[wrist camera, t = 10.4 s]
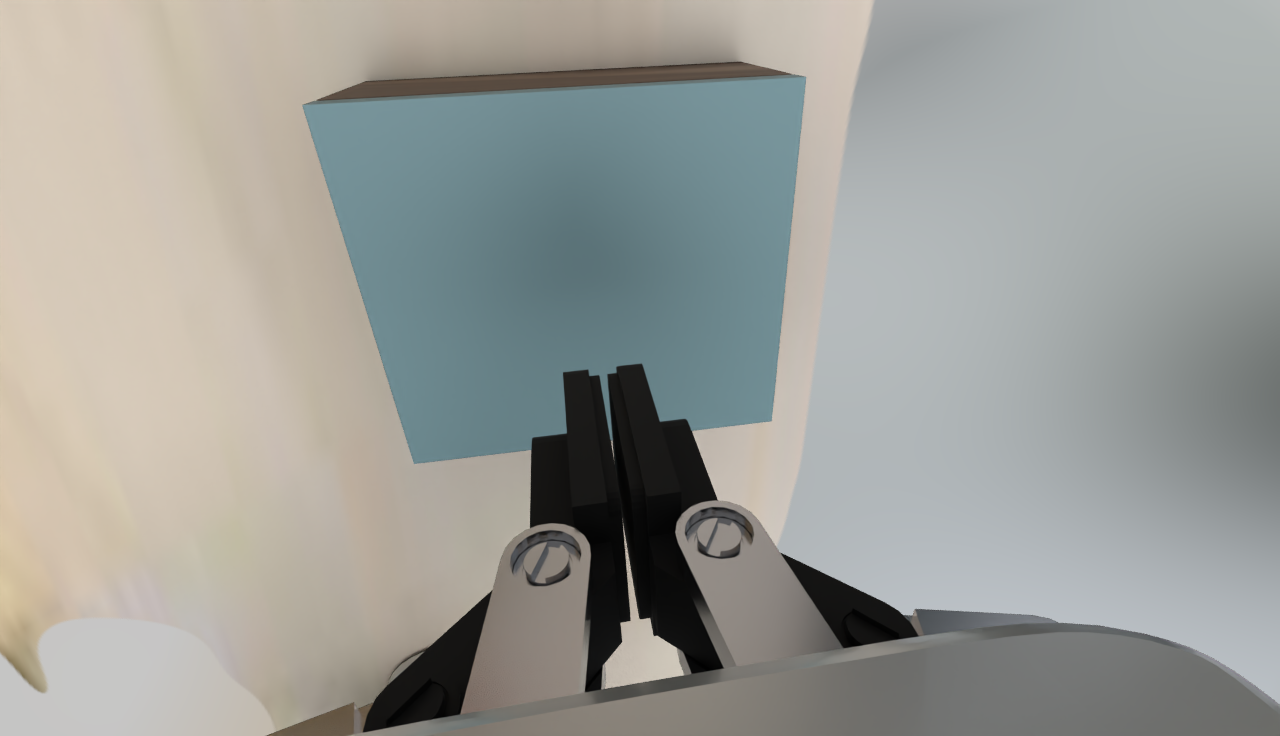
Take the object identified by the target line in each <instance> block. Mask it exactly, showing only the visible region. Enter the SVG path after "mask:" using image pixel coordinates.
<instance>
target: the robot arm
mask: <svg viewBox="0 0 1280 736" xmlns="http://www.w3.org/2000/svg"><path fill="white" fill-rule="evenodd" d="M607 379H608V391H609V403H610V415H611V427H612V438H613V450H614V458H613V452H612V446H611V440H610V434H609V428H608V423H607V417H606V411H605V405H604V399H603V393H602V388H601V382H600V376H599V375H594V376H589V370H588V369H587V370H578V371H570V372H563V383H564V397H565V412H566V427H567V433H565V434H557V435H549V436H541V437H533V438H532V451H531V503H530V529H527V530H525V531H523V532H522V533H521V534H519V535H518V536H516V537H515V538H514V539H513V540H512V541H511V542H510V543H509V544H508V545H507V547H506V548H505V550H504V552H503V555H502V557H501V560H500V563H499V567H498V571H497V575H496V579H495V583H494V586H493V590H492V591H491V592H490V593H489V594H488V595H486V596H485V597H484V598H483V599H482V600H481V601H480V602H479V603H478V604H476V605H475V606H474V607H473V608H472V609H471V610H470V611H469V612H468V613H467V614H465V615H464V616H463V617H462V618H461V619H460V620H459V621H458V622H457V623H456V624H454V625H453V626H452V627H451V628H450V629H449V630H448V631H447V632H446V633H444V634H443V635H442V636H441V637H440V638H439V639H438V640H437V641H436V642H435V643H433V644H432V645H431V646H430V647H429V648H428V649H427V650H426V651H424V652H422V653H420V654H417V655H415V656H413V657H411V658H410V659H408V660H407V661H405V662H404V663H402V664H401V665H400V666H399V667H398V668H397V669H396V670H395V671H394V672H393V674H392V676H391V677H390V679H389V682H388V685H387V687H386V688H385V689H384V690H383V691H382V692H381V693H380V694H379V696H378V697H377V698H376V699H375V701H374V703H371V704H369V705H366V706H364V707H361V708H357V706H356V704H355V703H351V704H348V705H346V706H343V707H340V708H338V709H335V710H332V711H330V712H327V713H325V714H322V715H319V716H317V717H314V718H311V719H309V720H306V721H303V722H301V723H298V724H296V725H293V726H290V727H288V728H285V729H282V730H280V731H277V732H274V733H272V734H269V735H267V736H1280V704H1278V703H1277V702H1275V700H1273V699H1272V698H1271V697H1269V696H1268V695H1267V694H1265V693H1264V692H1263V691H1261V690H1260V689H1259V688H1257V687H1256V686H1255V685H1253V684H1252V683H1251V682H1249V681H1248V680H1246V679H1245V678H1243V677H1242V676H1241V675H1239V674H1238V673H1236V672H1235V671H1233V670H1232V669H1230V668H1229V667H1226V666H1225V665H1223V664H1222V663H1220V662H1219V661H1217V660H1215V659H1214V658H1212V657H1210V656H1208V655H1205V654H1203V653H1201V652H1199V651H1197V650H1195V649H1192V648H1190V647H1187V646H1184V645H1181V644H1178V643H1175V642H1172V641H1169V640H1166V639H1162V638H1159V637H1155V636H1151V635H1147V634H1142V633H1138V632H1132V631H1127V630H1121V629H1116V628H1110V627H1105V626H1098V625H1084V624H1070V623H1058V622H1056V621H1054V620H1052V619H1049V618H1044V617H1039V616H1034V615H1021V614H1002V613H983V612H963V611H944V610H925V609H915V610H914V613H913V616H910V615H909V616H908V615H902V614H901V613H900V612H899V611H898V610H896V609H895V608H893V607H891V606H890V605H888V604H886V603H885V602H883V601H881V600H878V599H876V598H874V597H872V596H870V595H868V594H866V593H864V592H861V591H860V590H857V589H856V588H853V587H851V586H849V585H847V584H845V583H843V582H841V581H839V580H837V579H835V578H832V577H830V576H828V575H826V574H824V573H822V572H820V571H818V570H816V569H814V568H812V567H809V566H807V565H805V564H803V563H801V562H799V561H797V560H795V559H793V558H790V557H788V556H786V555H784V554H782V553H780V552H779V550H778V549H777V547H776V546H775V544H774V543H773V541H772V540H771V538H770V537H769V535H768V534H767V532H766V531H765V529H764V528H763V526H762V525H761V523H760V522H759V520H758V519H757V518H756V517H755V516H754V515H753V514H752V513H751V512H750V511H748V510H747V509H745V508H743V507H742V506H740V505H737V504H734V503H731V502H727V501H718V500H717V497H716V494H715V492H714V489H713V486H712V484H711V481H710V478H709V476H708V473H707V470H706V468H705V465H704V463H703V460H702V457H701V455H700V452H699V449H698V447H697V444H696V441H695V439H694V436H693V433H692V431H691V428H690V425H689V423H688V421H687V420H686V419H678V420H670V421H662V422H660V420H659V417H658V414H657V410H656V407H655V404H654V400H653V397H652V394H651V391H650V387H649V384H648V381H647V377H646V374H645V371H644V368H643V365H642V363H640V364H631V365H623V366H617V367H616V373H612V374H607ZM614 462H615V463H614ZM622 518H623V521H622ZM623 524H624V530H625V536H626V542H627V548H628V554H629V560H630V566H631V572H632V578H633V584H634V590H635V596H636V602H637V608H638V613H639V618H640V619H646V618H650V619H651V624H652V629H653V635H654V636H659V637H661V638H662V639H664V640H665V641H667V642H668V643H670V644H672V645H673V646H675V647H676V648H677V652H678V657H679V662H680V664H681V667H682V670H683V672H684V676H678V677H672V678H666V679H660V680H655V681H649V682H643V683H637V684H631V685H626V686H620V687H614V688H608V689H605V680H606V672H605V662H606V661H607V660H608V658H609V657H610V656H611V655H612V654H613V652H614V651H615V650H616V649H617V647H618V646H619V645H620V644H621V643H622V636H621V625H620V623H621V622H627V621H630V607H629V595H628V582H627V570H626V558H625V545H624V533H623Z"/></svg>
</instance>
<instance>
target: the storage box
mask: <svg viewBox="0 0 1280 736" xmlns="http://www.w3.org/2000/svg"><path fill="white" fill-rule="evenodd" d="M776 75H792V74H790V73H786V72H781V71H777V70H773V69H769V68H765V67H760V66H756V65H752V64H748V63H743V62H727V63H707V64H688V65H669V66H650V67H631V68H612V69H593V70H574V71H555V72H536V73H517V74H498V75H478V76H459V77H440V78H421V79H402V80H383V81H365V82H363V83H360V84H358V85H355V86H352V87H350V88H347V89H344V90H342V91H339V92H336V93H334V94H331V95H329V96H326V97H323V98H321V99H318V100H317V101H324V100H342V99H360V98H378V97H396V96H414V95H433V94H451V93H469V92H487V91H505V90H523V89H541V88H559V87H577V86H595V85H613V84H631V83H650V82H668V81H686V80H704V79H722V78H740V77H758V76H776Z"/></svg>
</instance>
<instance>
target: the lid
mask: <svg viewBox="0 0 1280 736" xmlns="http://www.w3.org/2000/svg"><path fill="white" fill-rule="evenodd" d="M805 84H806V77H804V76H799V75H776V76H758V77H740V78H722V79H704V80H686V81H668V82H650V83H631V84H613V85H595V86H577V87H559V88H541V89H523V90H505V91H487V92H469V93H451V94H433V95H414V96H396V97H378V98H360V99H342V100H324V101H313V102H310V103H307V104H304V105H302V106H303V109H304V112H305V115H306V119H307V122H308V125H309V128H310V131H311V135H312V138H313V141H314V144H315V148H316V151H317V154H318V157H319V160H320V164H321V167H322V170H323V173H324V176H325V180H326V183H327V186H328V189H329V192H330V196H331V199H332V202H333V205H334V208H335V212H336V215H337V218H338V221H339V225H340V228H341V231H342V234H343V237H344V241H345V244H346V247H347V250H348V253H349V257H350V260H351V263H352V266H353V269H354V273H355V276H356V279H357V282H358V285H359V289H360V292H361V295H362V298H363V302H364V305H365V308H366V311H367V314H368V318H369V321H370V324H371V327H372V330H373V334H374V337H375V340H376V343H377V346H378V350H379V353H380V356H381V359H382V363H383V366H384V369H385V372H386V375H387V379H388V382H389V385H390V388H391V391H392V395H393V398H394V401H395V404H396V407H397V411H398V414H399V417H400V420H401V423H402V427H403V430H404V433H405V436H406V440H407V443H408V446H409V449H410V452H411V456H412V459H413V462H414V464H417V463H426V462H434V461H442V460H451V459H459V458H467V457H476V456H484V455H493V454H501V453H509V452H518V451H526V450H532V438H533V437H541V436H549V435H557V434H565V433H567V427H566V412H565V397H564V383H563V372H570V371H578V370H587V369H588V370H589V376H594V375H599V376H600V382H601V388H602V393H603V399H604V405H605V411H606V417H607V423H608V428H609V434H610V440H613V438H612V427H611V415H610V403H609V391H608V379H607V374H612V373H616V367H617V366H623V365H631V364H640V363H642V365H643V368H644V371H645V374H646V377H647V381H648V384H649V387H650V391H651V394H652V397H653V400H654V404H655V407H656V410H657V414H658V417H659V420H660V422H662V421H670V420H678V419H686V420H687V421H688V423H689V425H690V428H691V431H694V430H702V429H710V428H719V427H727V426H735V425H744V424H752V423H761V422H769V421H772V412H773V402H774V392H775V382H776V372H777V362H778V352H779V342H780V333H781V323H782V313H783V303H784V293H785V283H786V273H787V263H788V253H789V243H790V233H791V223H792V213H793V203H794V193H795V183H796V173H797V163H798V153H799V143H800V133H801V123H802V113H803V104H804V94H805Z"/></svg>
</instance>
